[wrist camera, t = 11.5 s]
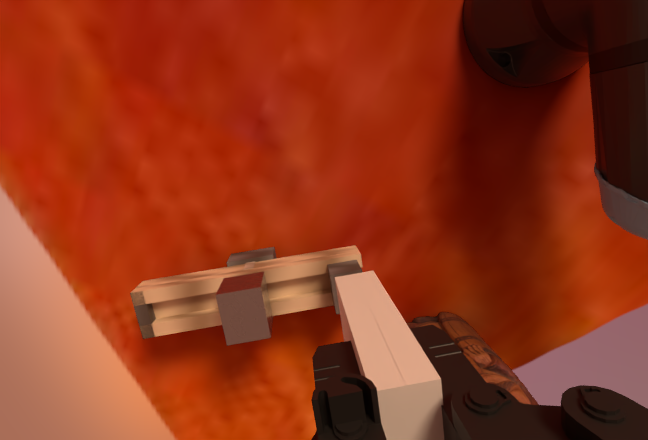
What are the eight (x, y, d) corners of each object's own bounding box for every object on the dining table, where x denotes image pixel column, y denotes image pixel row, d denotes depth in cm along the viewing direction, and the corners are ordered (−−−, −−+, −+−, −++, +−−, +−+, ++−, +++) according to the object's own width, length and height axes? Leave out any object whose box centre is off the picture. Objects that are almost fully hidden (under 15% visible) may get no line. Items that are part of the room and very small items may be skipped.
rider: (235, 318, 38) (227, 345, 33) (225, 274, 37) (215, 294, 32) (273, 312, 39) (270, 337, 34) (264, 267, 38) (260, 287, 32)
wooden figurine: (475, 305, 46) (586, 404, 29) (477, 350, 48) (584, 471, 30) (383, 320, 46) (440, 431, 28) (388, 365, 47) (445, 498, 30)
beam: (164, 315, 43) (131, 360, 34) (152, 267, 42) (114, 301, 33) (357, 281, 44) (373, 317, 35) (350, 234, 43) (365, 258, 34)
